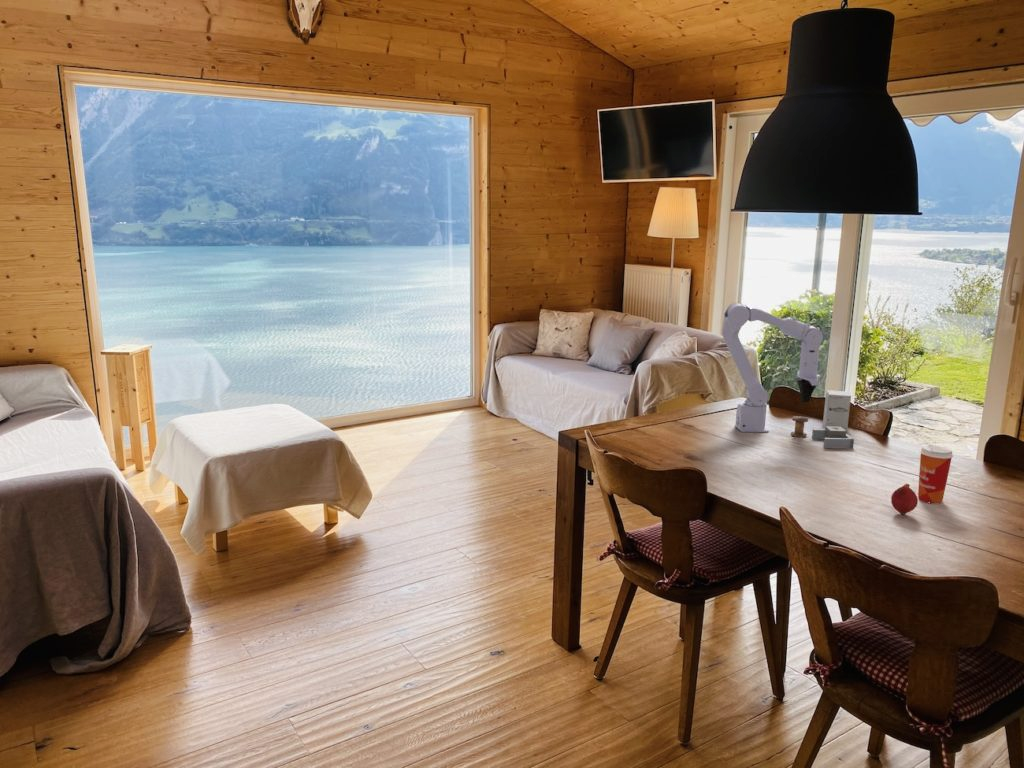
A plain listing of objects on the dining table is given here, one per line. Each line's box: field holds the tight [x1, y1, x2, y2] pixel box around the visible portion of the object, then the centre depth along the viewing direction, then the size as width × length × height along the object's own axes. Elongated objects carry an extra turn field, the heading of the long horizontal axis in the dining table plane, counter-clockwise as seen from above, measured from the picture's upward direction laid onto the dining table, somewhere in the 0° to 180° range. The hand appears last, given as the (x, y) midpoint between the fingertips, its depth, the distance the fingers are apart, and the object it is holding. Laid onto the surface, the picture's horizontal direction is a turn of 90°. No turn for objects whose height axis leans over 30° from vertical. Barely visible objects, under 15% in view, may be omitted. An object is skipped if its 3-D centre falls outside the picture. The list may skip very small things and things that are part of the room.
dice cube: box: [824, 426, 847, 438], centre depth 248 cm, size 5×5×5 cm
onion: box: [890, 483, 919, 515], centre depth 190 cm, size 6×6×8 cm
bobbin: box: [790, 415, 809, 438], centre depth 256 cm, size 5×5×6 cm
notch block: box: [811, 428, 855, 449], centre depth 249 cm, size 9×11×3 cm
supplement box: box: [822, 389, 852, 432], centre depth 265 cm, size 7×7×13 cm
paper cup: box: [917, 444, 954, 504], centre depth 199 cm, size 8×8×14 cm
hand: (805, 401), depth 260 cm, fingers closed
